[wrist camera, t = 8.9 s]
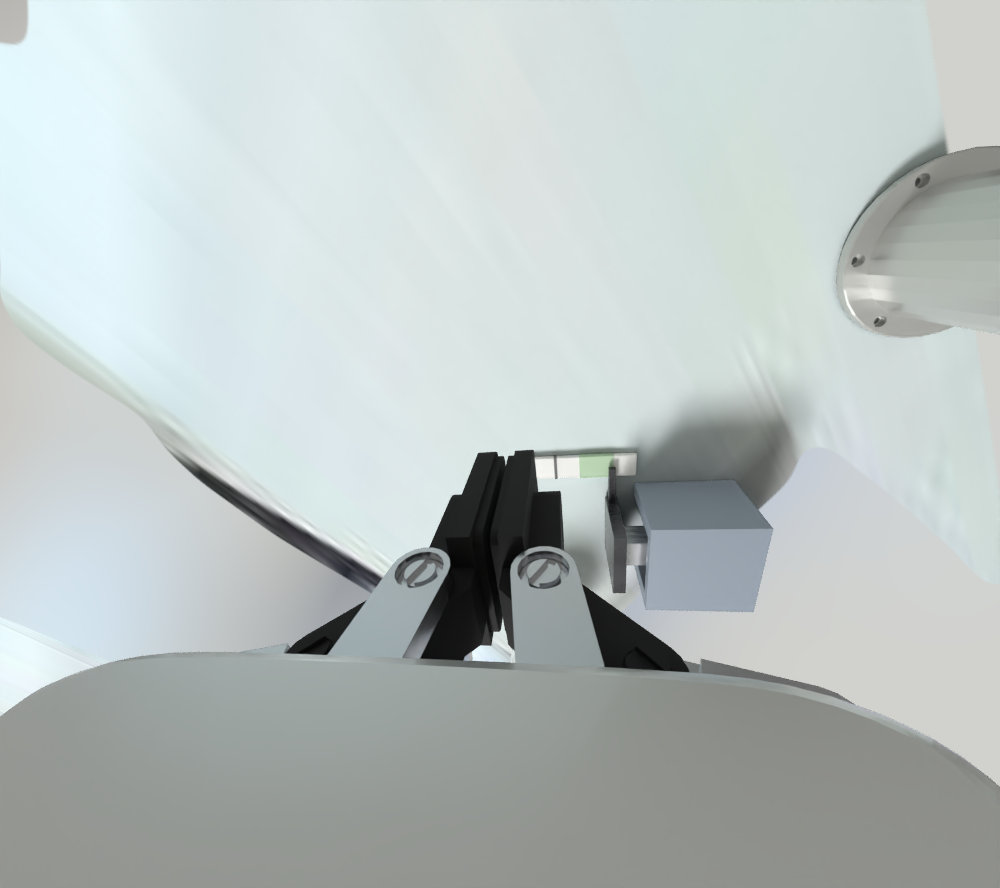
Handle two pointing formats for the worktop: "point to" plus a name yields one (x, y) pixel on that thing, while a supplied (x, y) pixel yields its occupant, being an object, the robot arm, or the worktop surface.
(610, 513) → the plunger
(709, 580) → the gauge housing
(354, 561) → the worktop surface
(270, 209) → the worktop surface
